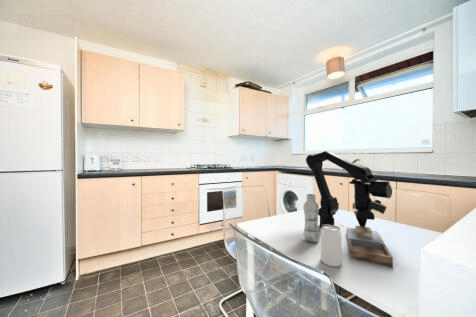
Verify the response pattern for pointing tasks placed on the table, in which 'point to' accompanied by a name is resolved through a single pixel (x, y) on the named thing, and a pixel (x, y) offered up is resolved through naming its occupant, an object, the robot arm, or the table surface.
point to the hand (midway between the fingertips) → (362, 229)
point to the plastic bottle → (311, 219)
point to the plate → (365, 239)
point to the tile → (363, 231)
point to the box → (371, 254)
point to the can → (331, 245)
